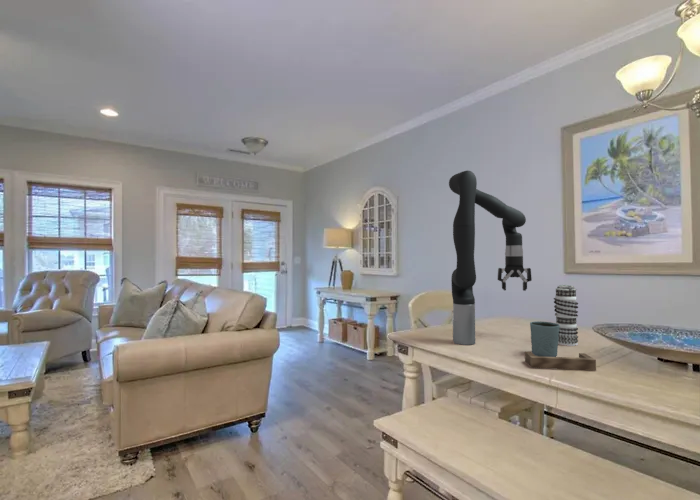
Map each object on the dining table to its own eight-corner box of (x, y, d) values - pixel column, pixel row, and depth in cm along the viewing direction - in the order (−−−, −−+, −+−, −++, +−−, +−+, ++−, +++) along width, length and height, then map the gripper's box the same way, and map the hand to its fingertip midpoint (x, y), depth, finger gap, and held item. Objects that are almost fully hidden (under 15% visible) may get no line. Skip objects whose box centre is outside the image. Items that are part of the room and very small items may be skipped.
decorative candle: (550, 340, 164) (549, 284, 165) (571, 340, 164) (570, 284, 164) (561, 346, 155) (560, 286, 156) (583, 346, 155) (582, 286, 155)
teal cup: (530, 350, 149) (530, 320, 150) (559, 352, 145) (558, 322, 145) (530, 356, 140) (530, 325, 140) (561, 359, 136) (560, 327, 136)
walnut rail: (531, 367, 127) (531, 357, 127) (525, 361, 135) (524, 351, 135) (596, 370, 123) (595, 359, 123) (585, 363, 131) (585, 353, 131)
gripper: (499, 255, 169) (499, 291, 169) (533, 255, 166) (533, 291, 166) (496, 255, 176) (496, 289, 176) (528, 255, 173) (528, 289, 173)
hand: (514, 290), depth 171 cm, fingers open, 8 cm apart
